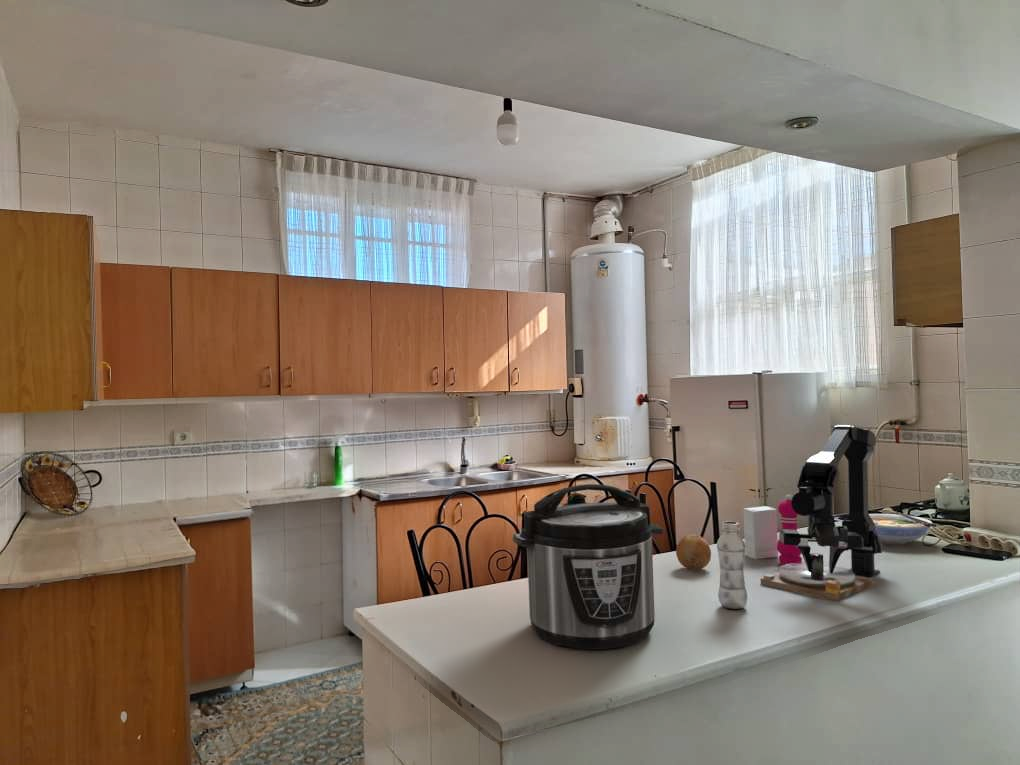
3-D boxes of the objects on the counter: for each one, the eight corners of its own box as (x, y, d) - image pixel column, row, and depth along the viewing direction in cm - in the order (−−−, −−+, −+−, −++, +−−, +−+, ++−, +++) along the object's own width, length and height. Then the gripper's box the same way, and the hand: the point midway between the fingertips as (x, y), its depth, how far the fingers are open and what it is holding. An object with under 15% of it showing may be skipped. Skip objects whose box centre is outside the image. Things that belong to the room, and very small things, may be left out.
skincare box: (767, 553, 214) (766, 505, 214) (779, 557, 208) (778, 508, 208) (743, 555, 212) (742, 507, 212) (754, 559, 206) (753, 510, 206)
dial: (779, 566, 191) (779, 538, 191) (851, 572, 184) (850, 542, 184) (778, 584, 174) (778, 553, 174) (858, 590, 167) (857, 558, 168)
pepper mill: (806, 566, 197) (804, 496, 198) (779, 565, 199) (777, 496, 199) (800, 560, 205) (799, 493, 205) (775, 559, 206) (773, 492, 206)
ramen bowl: (842, 534, 239) (841, 510, 239) (912, 534, 236) (912, 510, 236) (870, 550, 214) (869, 524, 214) (949, 551, 211) (948, 524, 211)
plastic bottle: (733, 613, 158) (731, 526, 158) (712, 605, 164) (710, 522, 164) (753, 609, 161) (751, 523, 161) (732, 601, 167) (730, 519, 167)
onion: (707, 565, 201) (707, 530, 202) (714, 574, 192) (713, 538, 192) (674, 564, 202) (673, 530, 203) (679, 573, 193) (678, 538, 193)
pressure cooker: (501, 647, 141) (498, 492, 141) (545, 605, 167) (542, 475, 167) (648, 665, 130) (644, 497, 130) (670, 618, 156) (667, 478, 156)
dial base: (799, 570, 193) (799, 556, 193) (873, 584, 178) (872, 569, 178) (760, 584, 181) (760, 569, 181) (836, 601, 165) (835, 584, 165)
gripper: (789, 515, 166) (788, 579, 166) (871, 518, 163) (871, 584, 163) (778, 507, 177) (778, 567, 177) (856, 509, 174) (855, 571, 174)
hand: (820, 572), depth 172 cm, fingers open, 5 cm apart
